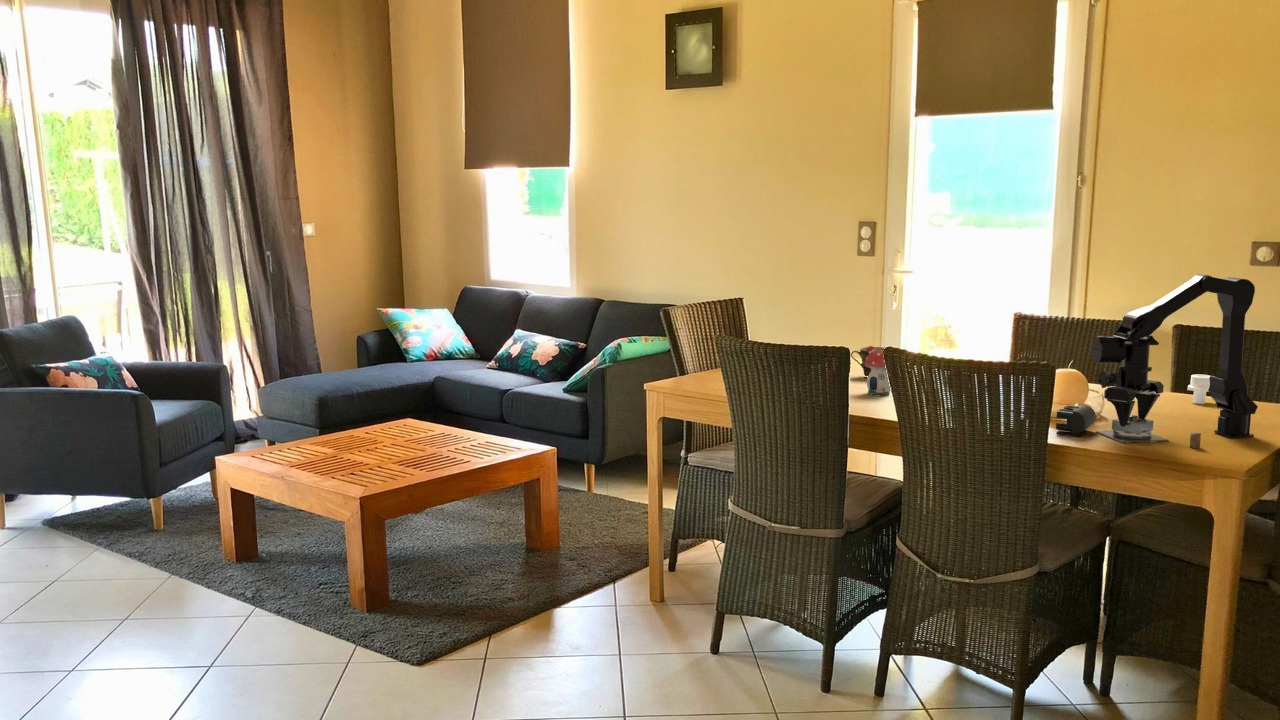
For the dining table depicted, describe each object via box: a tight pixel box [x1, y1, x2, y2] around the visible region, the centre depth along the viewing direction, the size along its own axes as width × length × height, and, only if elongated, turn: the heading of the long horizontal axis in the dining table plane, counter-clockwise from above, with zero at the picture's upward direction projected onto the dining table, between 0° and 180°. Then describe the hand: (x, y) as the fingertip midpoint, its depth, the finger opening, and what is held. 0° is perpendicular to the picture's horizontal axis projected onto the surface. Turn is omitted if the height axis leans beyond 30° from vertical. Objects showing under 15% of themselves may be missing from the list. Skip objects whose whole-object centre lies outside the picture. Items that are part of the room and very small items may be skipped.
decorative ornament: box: [865, 345, 891, 396], centre depth 317 cm, size 9×7×15 cm
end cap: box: [1055, 404, 1097, 437], centre depth 262 cm, size 10×7×7 cm
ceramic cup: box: [850, 346, 885, 376], centre depth 347 cm, size 13×10×10 cm
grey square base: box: [1111, 418, 1154, 434], centre depth 256 cm, size 7×7×2 cm
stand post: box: [1189, 431, 1202, 449], centre depth 245 cm, size 2×2×4 cm
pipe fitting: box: [1187, 374, 1211, 405], centre depth 297 cm, size 6×7×8 cm
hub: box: [1095, 414, 1170, 444], centre depth 257 cm, size 12×12×5 cm
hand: (1132, 423), depth 256 cm, fingers open, 9 cm apart
